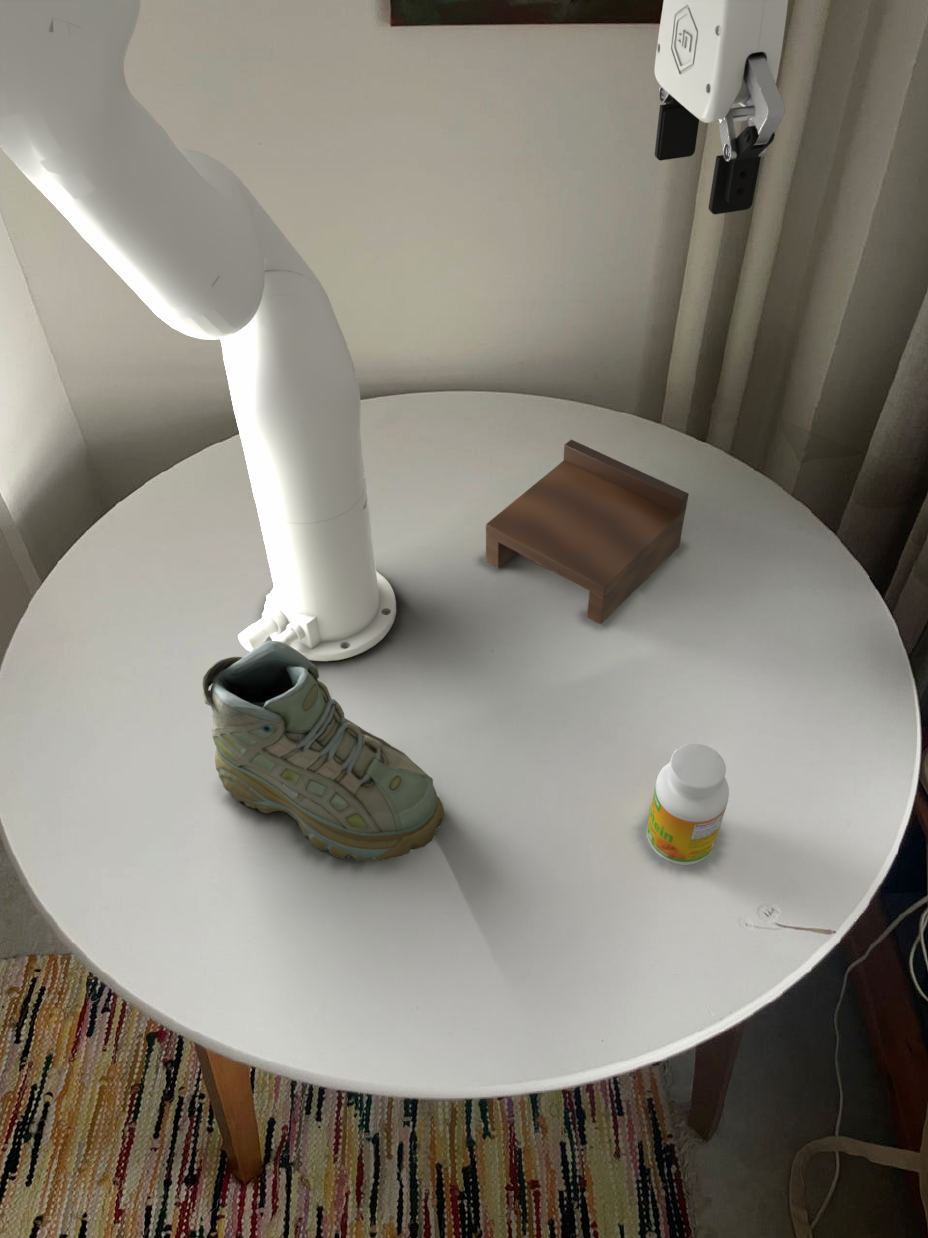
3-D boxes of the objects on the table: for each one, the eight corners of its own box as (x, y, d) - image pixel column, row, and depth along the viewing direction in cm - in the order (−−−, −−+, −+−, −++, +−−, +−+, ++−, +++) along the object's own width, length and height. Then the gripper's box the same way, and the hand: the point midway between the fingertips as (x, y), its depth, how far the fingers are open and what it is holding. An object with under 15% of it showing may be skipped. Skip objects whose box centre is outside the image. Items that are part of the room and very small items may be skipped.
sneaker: (373, 915, 77) (364, 787, 67) (197, 789, 85) (166, 659, 75) (461, 822, 83) (464, 693, 73) (290, 715, 92) (272, 586, 82)
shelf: (600, 625, 97) (606, 571, 92) (485, 561, 103) (485, 508, 98) (679, 546, 104) (688, 493, 99) (567, 491, 111) (571, 438, 106)
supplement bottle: (633, 821, 82) (646, 749, 75) (691, 798, 84) (709, 725, 77) (668, 877, 79) (685, 806, 72) (728, 852, 80) (750, 780, 73)
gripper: (632, -112, 70) (611, 144, 83) (748, -45, 59) (703, 241, 71) (733, -122, 71) (698, 132, 84) (865, -58, 60) (802, 225, 72)
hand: (700, 182), depth 77 cm, fingers open, 9 cm apart
